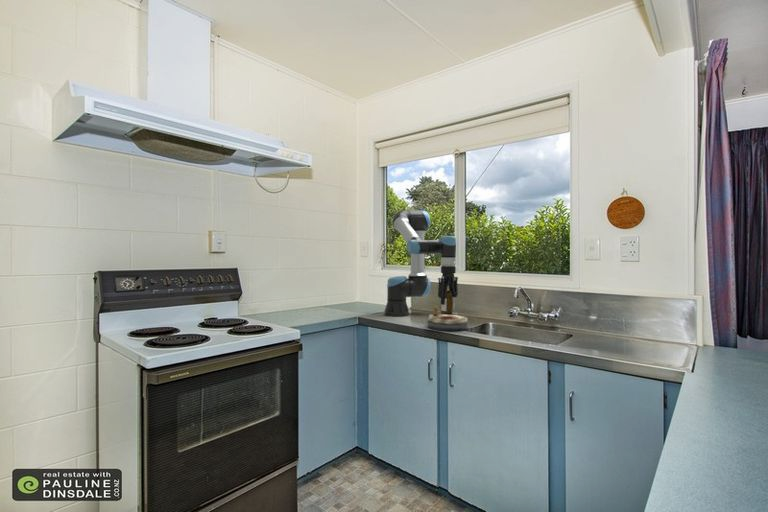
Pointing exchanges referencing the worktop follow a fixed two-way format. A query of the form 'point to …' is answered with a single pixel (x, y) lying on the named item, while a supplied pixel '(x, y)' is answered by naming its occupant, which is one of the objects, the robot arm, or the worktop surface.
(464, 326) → the turntable base
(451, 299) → the condiment
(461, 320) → the turntable
